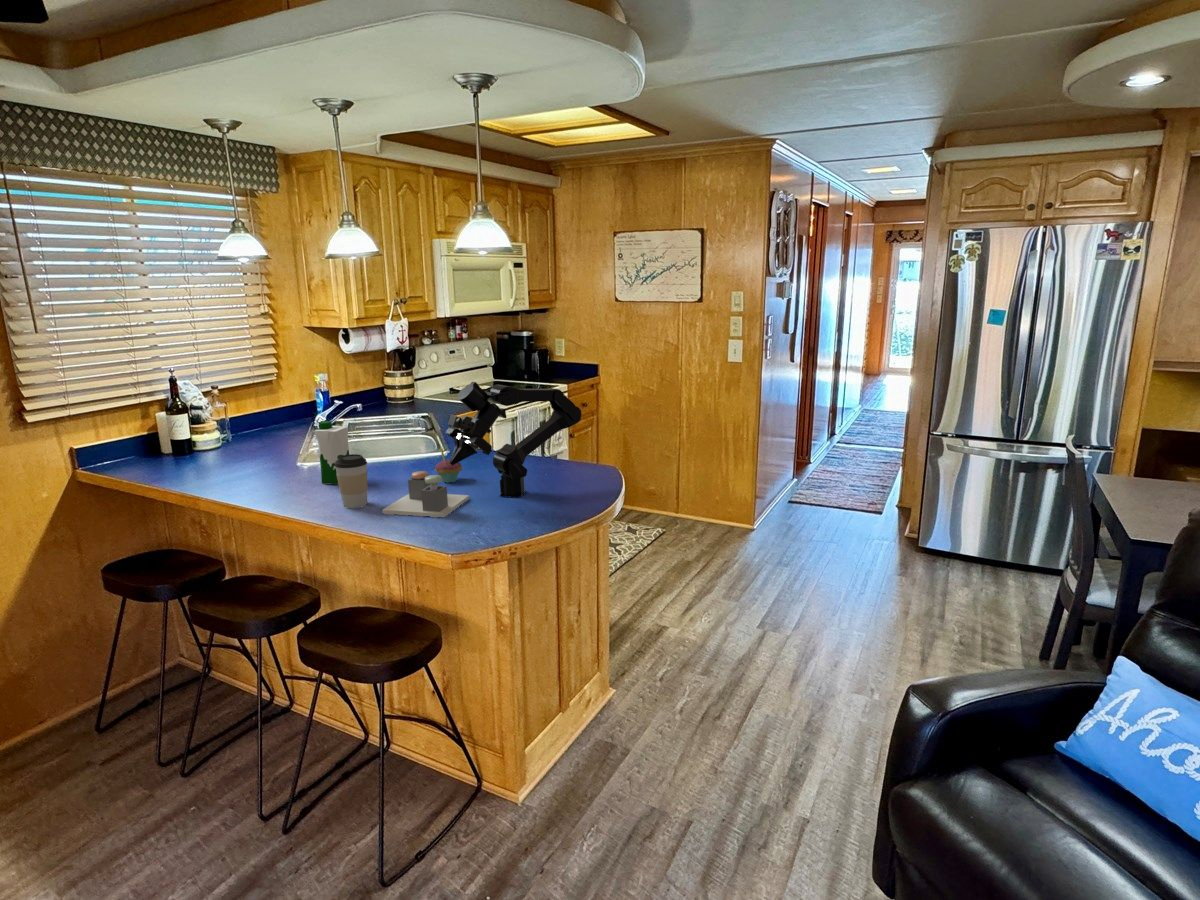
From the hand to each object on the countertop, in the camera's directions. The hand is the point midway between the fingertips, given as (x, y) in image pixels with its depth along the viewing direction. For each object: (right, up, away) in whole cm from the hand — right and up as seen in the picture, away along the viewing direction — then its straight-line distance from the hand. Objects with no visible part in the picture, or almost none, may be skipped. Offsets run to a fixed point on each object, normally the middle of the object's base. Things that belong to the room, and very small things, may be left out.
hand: (450, 464), depth 197 cm
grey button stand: (-8, -12, +5) cm, 16 cm away
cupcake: (-7, -6, +30) cm, 32 cm away
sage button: (-4, -10, -1) cm, 11 cm away
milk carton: (-45, -6, +32) cm, 55 cm away
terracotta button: (-11, -10, +10) cm, 18 cm away
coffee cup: (-30, -12, +8) cm, 33 cm away
